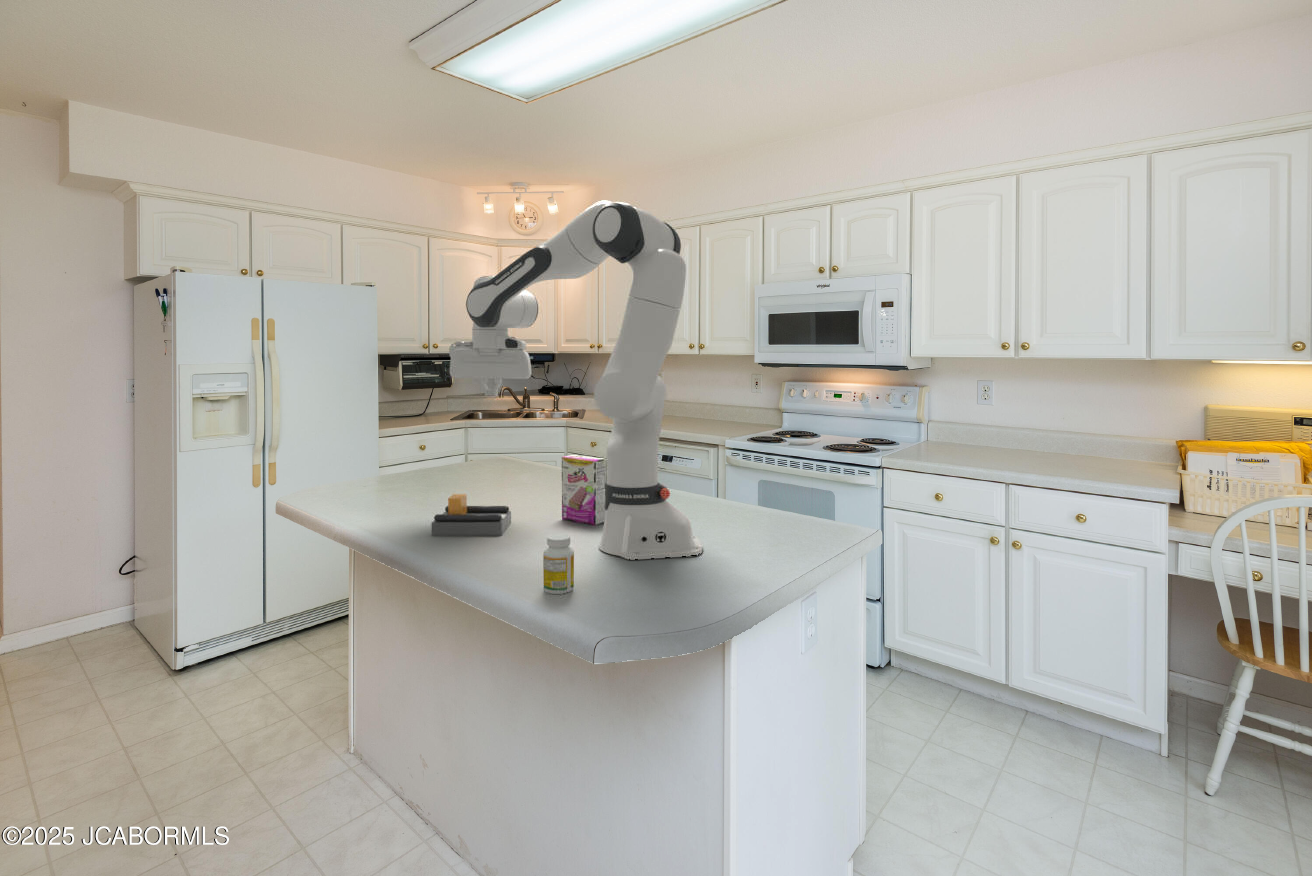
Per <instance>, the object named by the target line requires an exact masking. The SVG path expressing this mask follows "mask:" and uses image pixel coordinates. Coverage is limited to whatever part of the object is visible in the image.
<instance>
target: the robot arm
mask: <svg viewBox="0 0 1312 876" xmlns="http://www.w3.org/2000/svg"><path fill="white" fill-rule="evenodd" d="M681 248H682V243H681V239H680V236H679V234H678V232H677V231H676V230H675V229H674V228H673V227H672V226H671V225H670V224H668V223H667V222H664V221H662V220H661V219H659V218H658V217H655V216H654V215H653V214H652V213H651V212H648V211H646V210H644V209H641V208H639V207H635V206H633V205H632V204H630V203H627V202H620V201H609V200H600V201H598V202H596V203H594V204H592V205H591V206H589V207H588V208H586V209H585V210H583V211H582V212H581V213H579V214H578V215H577V216H575V217H574V218H572V220H571V221H570V222H569V223H568V224H567V225H565V226H564V227H563V228H562V229H561V230H560V231H559V232H557V233H556V234H554V235H553V236H552V237H550V238H548V240H546V241H544V242H542V243H540V244H538V245H536V246H535V247H533V248H532V249H529V250H527V251H526V252H525V253H523V254H522V255H521V256H520V257H518V258H516V259H515V260H514V261H513V262H511V263H509V265H507V266H506V267H505V268H504V269H503V270H501V271H500V272H499V273H497V274H495V275H484V276H481V277H478V278H477V279H475V281H474V283H473V286H472V288H471V290H470V291H469V293H468V295H467V297H466V300H465V301H466V303H465V307H466V311H467V314H468V316H469V317H470V319H471V321H472V322H473V323H472V324H473V325H472V328H471V329H472V332H471V333H472V334H471V335H472V341H455V342H454V343H452V344H450V346H449V349H448V350H449V352H448V355H449V357H450V361H449V362H450V363H449V374H450V377H451V378H453V379H479V384H480V385H481V386H482V388H483V390H484V396H485V397H493V398H494V397H498V395H499V394H498V393H499V389H500V387H501V385H502V383H503V379H509V380H510V379H511V380H512V379H513V380H514V379H516V380H528V379H530V378H531V376H532V364H531V358H530V354H529V353H528V351H526V349H527V342H526V341H524V340H522V339H519V338H516V337H514V336H509V329H525V328H526V329H527V328H529V327H531V326H533V324H534V323H535V322H536V320H537V318H538V315H539V302H538V300H537V298H536V296H535V295H534V293H532V292H531V291H529V290H527V289H528V288H529V287H531V286H532V285H535V284H537V283H540V282H544V281H552V280H573V279H574V280H575V279H580V278H582V277H584V276H586V275H588V274H590V273H591V272H593V271H594V270H595V269H596V268H598V267H599V266H600V265H601V264H602V263H603V262H604V261H605V260H606V259H607V258H609V257H611V258H613V259H614V260H616V261H617V262H619V263H620V264H626V263H627V264H628V265H629V266H630V268H631V270H632V283H631V286H630V289H629V295H628V297H627V303H626V306H625V311H624V315H623V319H622V324H621V327H620V331H619V335H618V337H617V341H616V343H615V345H614V347H613V350H612V351H611V354H610V357H609V359H608V362H607V363H606V364H607V365H606V366H605V369H604V372H603V373H602V376H601V377H600V378H599V380H598V381H597V383H596V386H595V387H594V393H593V394H594V395H593V396H594V398H593V399H594V403H595V405H596V407H597V409H598V410H599V412H600V413H602V415H604V416H605V417H607V418H609V419H611V420H613V422H612V428H611V433H610V437H609V440H608V442H607V445H606V459H607V481H606V483H605V487H604V507H605V520H604V523H603V528H602V533H601V536H600V537H601V538H600V541H599V545H598V549H599V550H600V551H602V552H603V553H606V554H610V555H612V556H613V555H614V556H618V557H622V558H623V559H625V560H629V559H630V561H636V560H635V559H638V560H651V558H654V559H666V558H665V557H670V558H682V556H686V557H692V556H691V555H697V554H699V553H700V552H701V553H703V550H702V548H703V543H702V541H701V539H700V538H698V537H696V536H695V535H693V530H692V529H693V528H692V525H691V522H690V520H689V518H688V517H687V515H686V514H684V513H683V512H682V511H680V510H679V509H678V508H676V507H675V506H674V505H673V504H671V503H670V502H669V501H667V499H669V497H670V495H671V492H670V489H668V488H667V486H665V485H664V484H661V483H660V482H658V481H659V480H658V479H659V478H658V473H659V466H658V465H659V445H660V436H661V431H662V426H663V425H662V424H663V417H664V407H665V401H666V398H667V397H666V396H667V387H666V383H665V382H664V380H663V379H662V377H661V376H660V375H659V374H660V372H661V370H662V369H661V368H662V366H663V364H664V362H665V359H666V358H667V355H668V353H669V351H670V350H671V347H672V344H673V342H674V337H675V332H676V329H677V324H678V321H679V317H680V311H681V309H682V305H683V298H684V295H685V286H686V278H687V277H686V275H687V265H686V261H685V260H684V258H683V257H682V256H681V250H682V249H681ZM488 379H494V383H495V384H496V385H495V386H494V388H493V389H489V387H488V385H487V383H488ZM701 553H700V554H701ZM700 554H699V555H700ZM697 556H698V555H697Z"/></svg>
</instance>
